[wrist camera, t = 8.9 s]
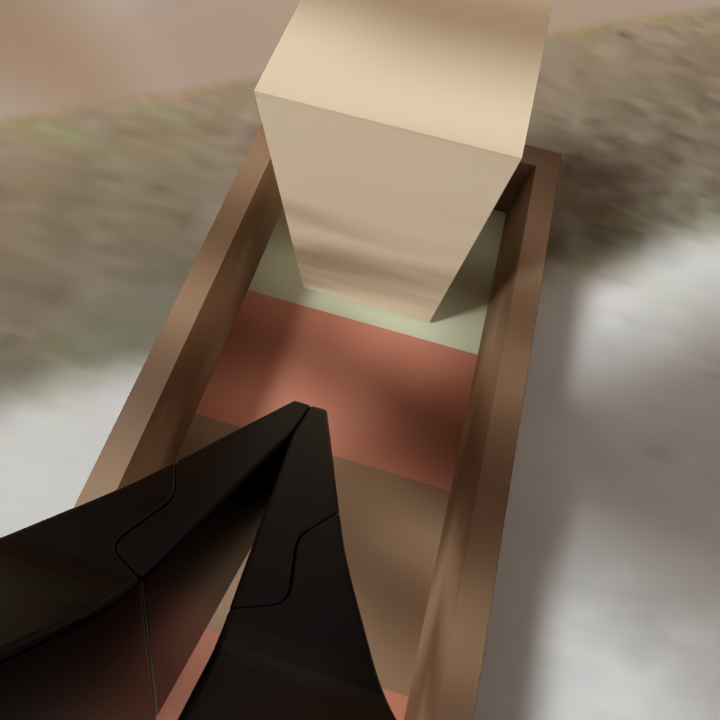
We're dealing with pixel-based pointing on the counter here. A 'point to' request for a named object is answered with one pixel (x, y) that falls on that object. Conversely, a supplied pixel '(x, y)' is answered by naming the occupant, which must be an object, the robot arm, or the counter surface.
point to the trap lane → (361, 418)
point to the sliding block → (397, 137)
